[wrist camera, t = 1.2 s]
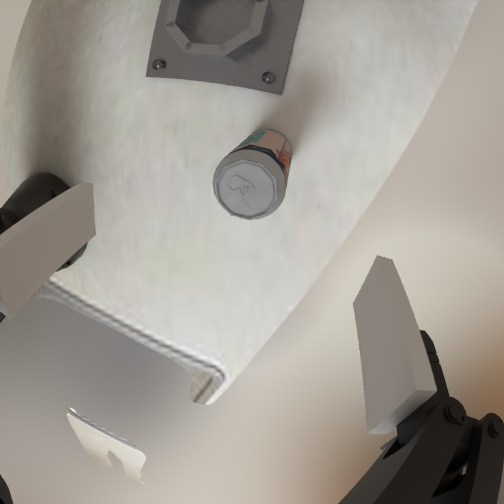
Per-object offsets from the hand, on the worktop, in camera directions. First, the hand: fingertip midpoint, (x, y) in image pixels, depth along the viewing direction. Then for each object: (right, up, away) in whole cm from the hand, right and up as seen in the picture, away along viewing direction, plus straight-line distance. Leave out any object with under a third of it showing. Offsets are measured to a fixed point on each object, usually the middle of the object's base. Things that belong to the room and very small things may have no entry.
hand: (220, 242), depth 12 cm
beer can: (+3, +10, +16) cm, 19 cm away
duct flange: (-1, +22, +9) cm, 24 cm away
